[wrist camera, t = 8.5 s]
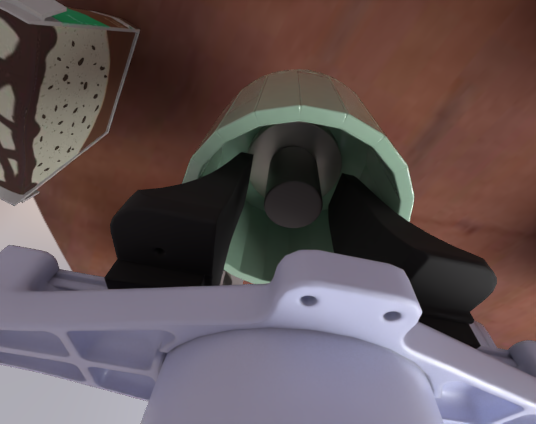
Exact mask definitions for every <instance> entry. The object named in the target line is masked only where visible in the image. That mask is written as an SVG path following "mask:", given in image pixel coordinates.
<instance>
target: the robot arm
mask: <svg viewBox="0 0 536 424" xmlns="http://www.w3.org/2000/svg"><path fill="white" fill-rule="evenodd" d="M253 156H254V154H249V153H244V152H240V153H239V154H238V155H236V156H235V157H234V158H233V159H231V160H230V161H229V162H227V163H226V164H225V165H223V166H222V167H220V168H219V169H217V170H215V171H214V172H212V173H210V174H208V175H206V176H203V177H201V178H199V179H196V180H193V181H189V182H186V183H183V184H179V185H175V186H170V187H164V188H156V189H146V190H137V191H136V192H135V193H134V194H133V195H132V196H131V197H130V198H129V199H128V200H127V202H126V203H125V204H124V205H123V206H122V207H121V208H120V210H119V211H118V212H117V213H116V214H115V215H114V217H113V218H112V221H111V224H110V228H111V235H112V239H113V243H114V247H115V251H116V255H117V261H116V262H115V263H114V265H113V266H112V268H111V269H110V271H109V272H108V273H107V275H106V276H105V277H100V276H95V275H89V274H83V273H78V272H72V271H66V270H61V269H59V266H58V263H57V260H56V259H55V258H54V256H52V255H51V254H49V253H48V252H45V251H41V250H36V249H31V248H24V247H20V246H14V245H8V246H7V247H6V248H4V249H3V250H2V251H1V252H0V365H5V366H10V367H15V368H20V369H24V370H29V371H33V372H38V373H42V374H46V375H50V376H54V377H58V378H62V379H66V380H70V381H74V382H77V383H81V384H85V385H89V386H92V387H96V388H100V389H103V390H107V391H111V392H115V393H118V394H122V395H126V396H130V397H133V398H137V399H141V400H145V401H148V405H147V407H146V410H145V413H144V415H143V418H142V421H141V423H140V424H536V341H532V340H526V341H521V342H518V343H516V344H514V345H513V346H512V347H510V348H509V350H505V349H499V348H497V347H496V345H495V344H494V342H493V340H492V339H491V337H490V335H489V334H488V332H487V331H486V329H485V328H484V326H483V325H482V324H481V323H479V322H476V321H474V319H473V317H472V315H471V314H470V311H471V310H472V309H474V308H475V307H476V306H477V305H479V304H480V303H481V302H482V301H483V300H485V299H486V298H487V297H488V296H489V295H490V294H491V293H492V292H493V290H494V288H495V286H496V284H497V277H496V276H495V274H494V272H493V271H492V270H491V268H490V267H489V265H488V264H487V263H486V261H485V260H484V259H483V258H480V257H478V256H476V255H473V254H471V253H468V252H466V251H464V250H461V249H459V248H456V247H454V246H452V245H450V244H448V243H446V242H444V241H442V240H440V239H438V238H436V237H434V236H432V235H430V234H428V233H427V232H425V231H423V230H422V229H420V228H418V227H416V226H415V225H413V224H412V223H410V222H409V221H407V220H406V219H404V218H403V217H402V216H400V215H399V214H397V213H396V212H395V211H393V210H392V209H391V208H390V207H389V206H387V205H386V204H385V203H384V202H383V201H382V200H381V199H379V198H378V197H377V196H376V195H375V194H374V193H373V192H372V191H371V190H370V189H369V188H368V187H367V186H366V185H365V184H363V183H362V182H361V181H360V180H359V179H358V178H357V177H355V176H354V175H349V174H344V173H342V174H341V176H340V179H339V181H338V184H337V186H336V188H335V191H334V193H333V196H332V198H331V200H330V203H329V205H328V221H329V228H330V234H331V239H332V245H333V250H334V253H331V252H326V251H321V250H298V251H296V252H293V253H291V254H288V255H286V256H284V258H283V259H282V260H281V261H280V263H279V264H278V265H277V268H276V271H275V274H274V277H273V279H272V281H271V282H270V283H268V284H246V285H220V282H221V278H222V274H223V270H224V266H225V262H226V258H227V254H228V250H229V246H230V243H231V239H232V236H233V234H234V231H235V228H236V226H237V223H238V220H239V218H240V215H241V212H242V210H243V207H244V204H245V200H246V195H247V191H248V186H249V180H250V174H251V168H252V162H253Z"/></svg>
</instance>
